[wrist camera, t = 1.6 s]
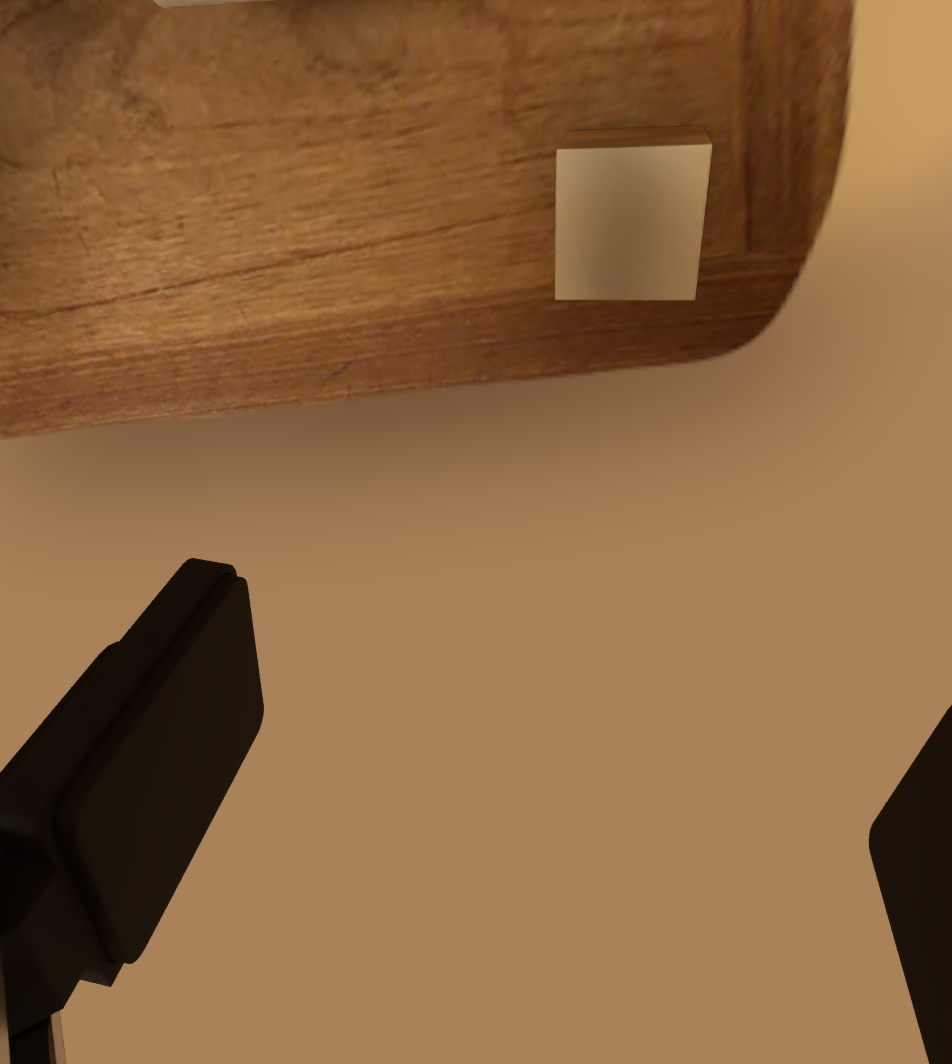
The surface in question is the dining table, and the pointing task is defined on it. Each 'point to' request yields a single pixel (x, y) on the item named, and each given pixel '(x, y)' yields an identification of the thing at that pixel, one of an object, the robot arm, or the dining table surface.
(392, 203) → the dining table surface
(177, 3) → the drawer
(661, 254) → the block
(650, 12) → the dining table surface
